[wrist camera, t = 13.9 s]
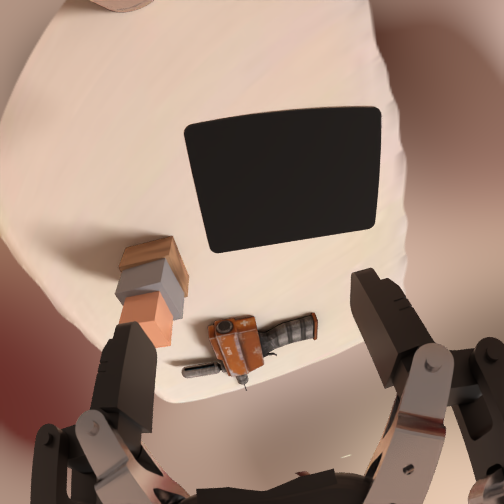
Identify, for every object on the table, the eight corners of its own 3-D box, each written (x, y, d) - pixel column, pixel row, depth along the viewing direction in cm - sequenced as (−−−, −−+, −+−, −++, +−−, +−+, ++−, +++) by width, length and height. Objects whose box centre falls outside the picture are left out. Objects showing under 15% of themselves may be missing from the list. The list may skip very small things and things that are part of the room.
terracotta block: (125, 297, 36) (118, 326, 32) (159, 290, 36) (154, 320, 32) (141, 322, 39) (136, 350, 35) (173, 316, 39) (170, 345, 35)
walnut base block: (126, 247, 43) (118, 267, 39) (172, 235, 43) (169, 255, 39) (145, 284, 48) (140, 305, 44) (189, 275, 48) (187, 296, 43)
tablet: (382, 107, 34) (375, 228, 46) (379, 106, 35) (373, 225, 46) (182, 126, 34) (211, 254, 45) (183, 125, 34) (211, 251, 46)
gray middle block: (122, 270, 39) (114, 294, 35) (165, 257, 39) (160, 282, 35) (144, 303, 43) (139, 327, 39) (184, 293, 43) (182, 318, 39)
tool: (319, 312, 52) (159, 345, 50) (315, 381, 68) (199, 405, 66) (312, 297, 55) (160, 329, 54) (310, 368, 71) (198, 392, 70)
